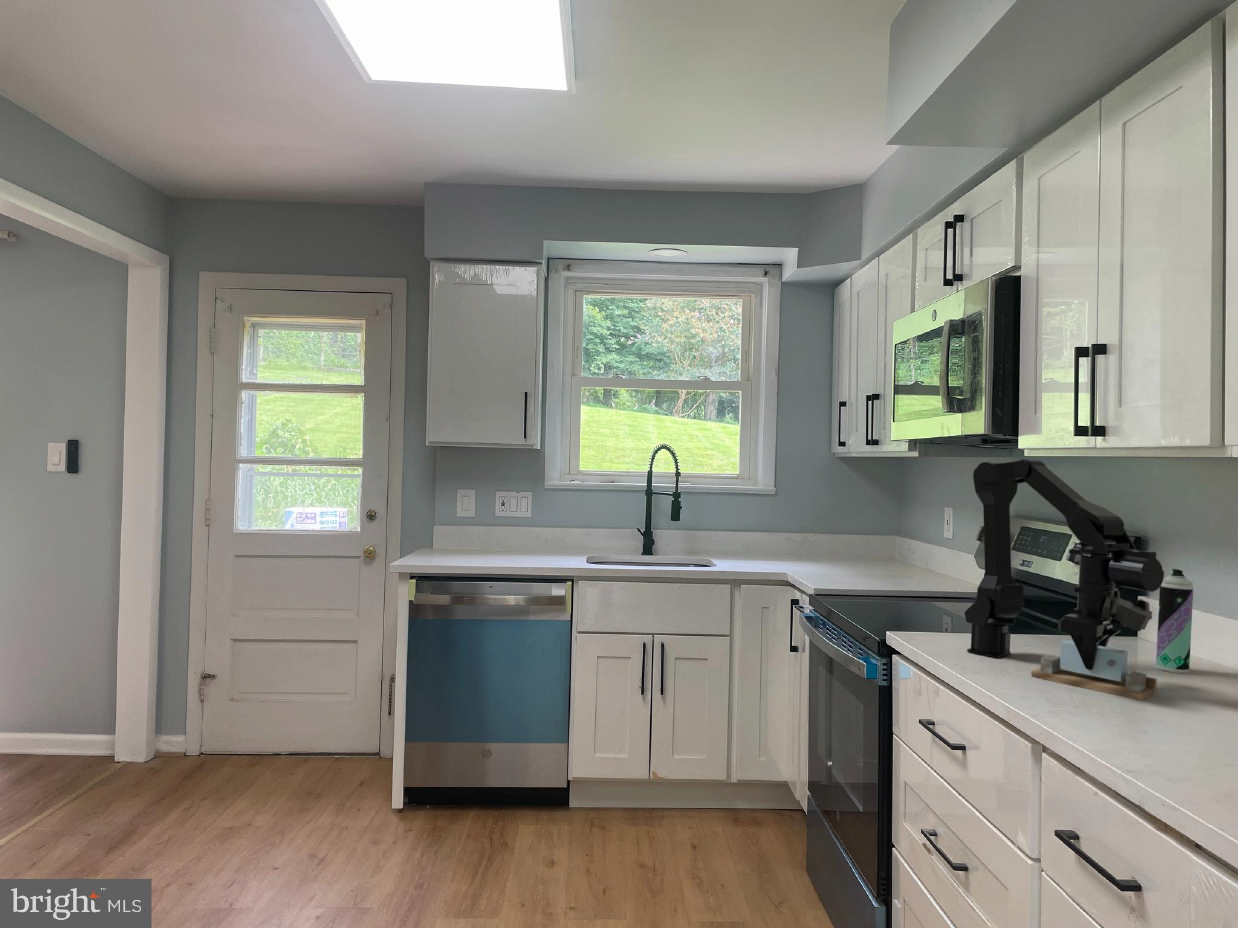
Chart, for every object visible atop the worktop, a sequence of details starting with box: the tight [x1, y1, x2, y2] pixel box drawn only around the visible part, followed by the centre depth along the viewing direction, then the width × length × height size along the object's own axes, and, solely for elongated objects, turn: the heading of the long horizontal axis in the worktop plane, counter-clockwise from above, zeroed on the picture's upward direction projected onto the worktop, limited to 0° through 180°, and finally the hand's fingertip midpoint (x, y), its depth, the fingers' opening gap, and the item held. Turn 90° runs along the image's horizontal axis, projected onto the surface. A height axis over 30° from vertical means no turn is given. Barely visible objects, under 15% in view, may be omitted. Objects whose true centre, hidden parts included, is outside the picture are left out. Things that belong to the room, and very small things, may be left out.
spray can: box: [1155, 568, 1194, 674], centre depth 162 cm, size 6×6×20 cm
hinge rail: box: [1030, 654, 1157, 701], centre depth 148 cm, size 18×8×4 cm, turn 43°
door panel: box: [1059, 639, 1129, 682], centre depth 148 cm, size 10×4×5 cm, turn 42°
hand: (1092, 667), depth 148 cm, fingers closed on door panel, 3 cm apart
